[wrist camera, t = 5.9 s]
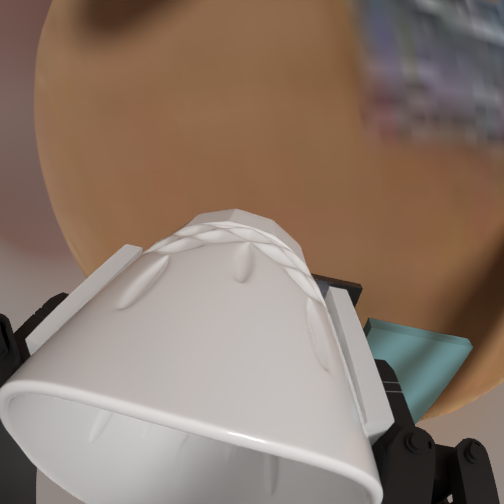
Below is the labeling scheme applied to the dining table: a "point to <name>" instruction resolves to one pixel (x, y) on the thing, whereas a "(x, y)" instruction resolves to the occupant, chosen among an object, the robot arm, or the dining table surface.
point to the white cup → (198, 381)
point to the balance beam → (417, 360)
